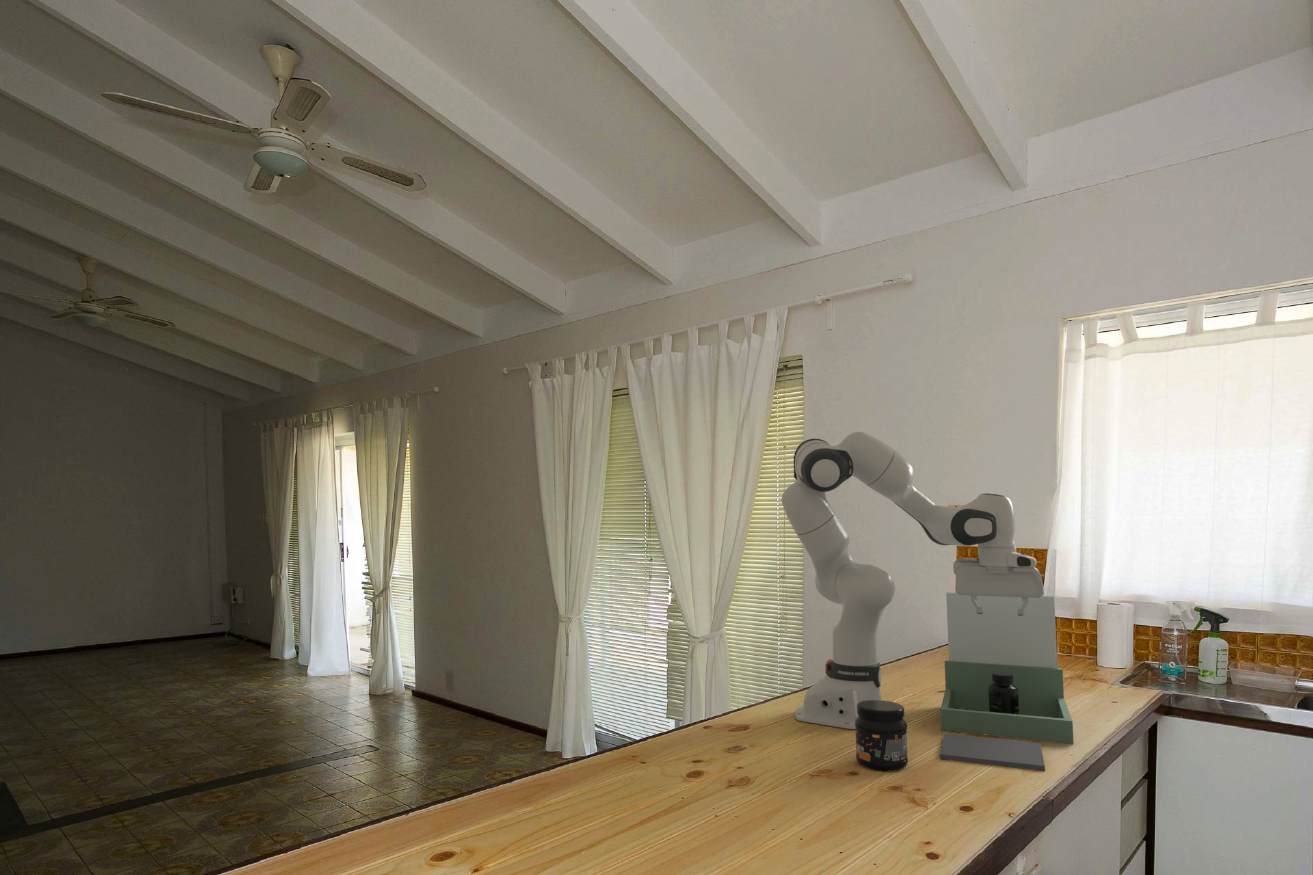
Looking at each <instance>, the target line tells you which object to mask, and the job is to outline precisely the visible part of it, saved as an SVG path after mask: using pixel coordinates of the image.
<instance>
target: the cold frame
mask: <svg viewBox="0 0 1313 875" xmlns="http://www.w3.org/2000/svg"><path fill="white" fill-rule="evenodd" d="M945 594H946V596H945V597H946V599H945V600H946V618H947V619H946V620H947V623H946V624H947V644H948V645H947V647H948V651H947V652H948V660H944V681H945V686H944V687H945V688H944V693H943V697H942V701H941V705H940V728H941V729H940V730H946V731H945V732H950V731H954V732H953V733H960V732H965V733H964V734H970V733H972V735H980V734H987V735H986V736H990V735H991V737H1000V736H1002V737H1003V738H1011V739H1022V740H1029V741H1030V740H1031V741H1040V742H1041V741H1042V742H1049V743H1050V742H1051V743H1060V744H1070V745H1074V744H1075V743H1074V741H1075V740H1074V726H1073V723H1074V722H1073V719H1072V716H1071V714H1070V711H1069V708H1068V705H1067V702H1066V701H1065V695H1064V694H1065V693H1064V674H1063V673H1064V671H1063V670H1064V669H1063V668H1060V667H1059V668H1058V666H1059V665H1058V652H1057V651H1058V650H1057V630H1056V610H1055V607H1056V605H1055V595H1054V596H1053V595H1052V596H1051V595H1043V596H1042V597H1041V598H1030V597H1028V604H1027V605H1026V607H1025V609H1024V616H1018V614H1017V612H1018V611H1017V608H1021V606H1022V605H1023V603H1024V602H1022V597H1001V596H977V600H975V601H976V602H977V604H978V606H982V611H983V614H976V607H975V605H974V604H973V602H972V601H971V595H958V594H957V592H946V593H945ZM994 672H1005V673H1010V674H1013V680H1014V682H1013V685H1014V686H1016V687H1017V689H1018V694H1019V715H1017V714H1006V713H995V712H989V694H988V687H989V685H990V684H992V683H993V681H992V673H994ZM955 708H961V709H955ZM962 708H963V709H962ZM966 709H969V710H966ZM977 710H983V711H977ZM1002 737H1001V738H1002Z"/></svg>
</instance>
